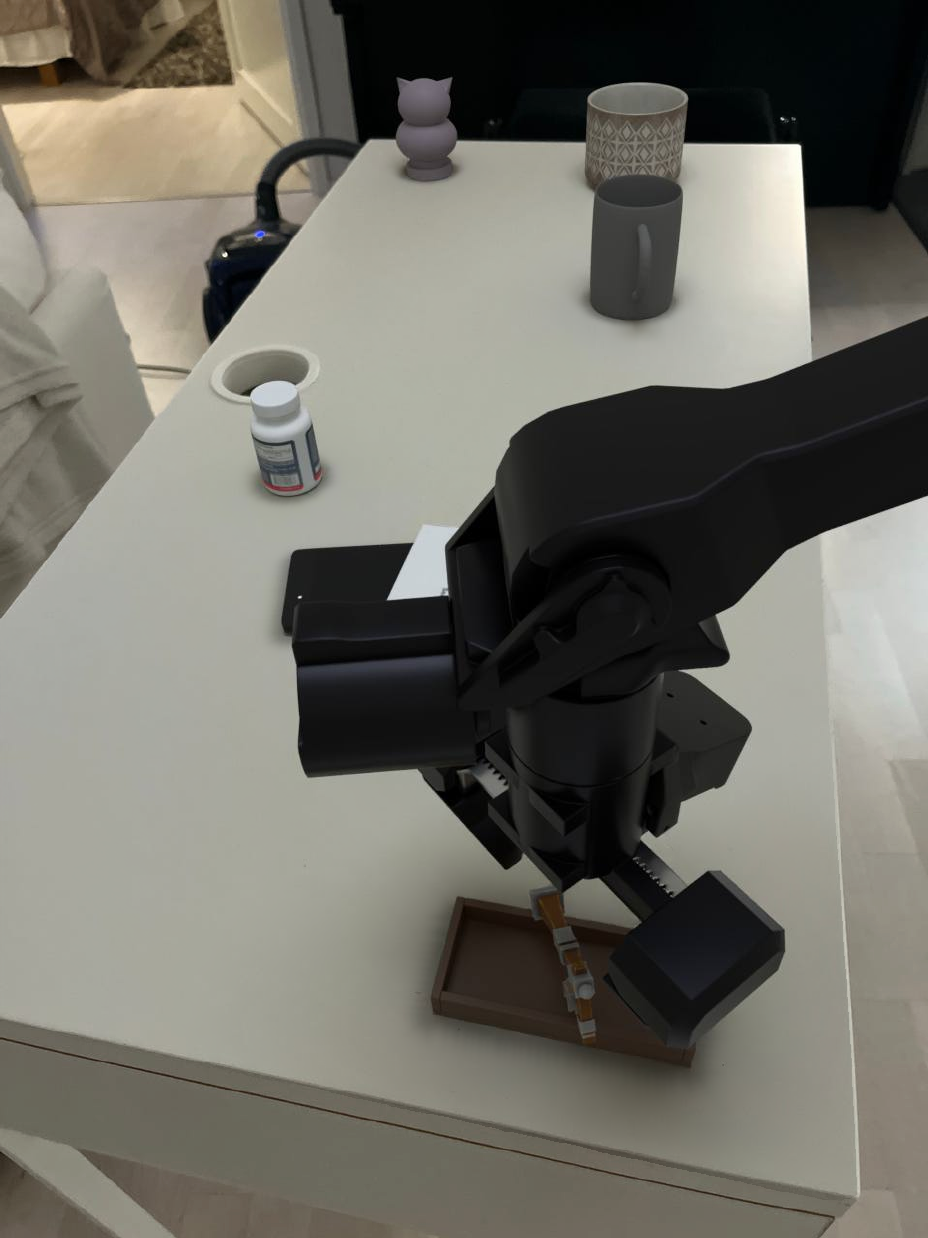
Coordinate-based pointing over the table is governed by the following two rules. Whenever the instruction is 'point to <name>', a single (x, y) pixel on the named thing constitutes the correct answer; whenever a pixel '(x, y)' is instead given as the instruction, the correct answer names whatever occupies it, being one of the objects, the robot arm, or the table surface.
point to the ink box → (425, 565)
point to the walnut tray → (535, 980)
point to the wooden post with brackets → (567, 957)
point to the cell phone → (342, 575)
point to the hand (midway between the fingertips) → (569, 927)
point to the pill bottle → (284, 439)
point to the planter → (635, 131)
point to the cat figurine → (426, 128)
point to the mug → (635, 245)
